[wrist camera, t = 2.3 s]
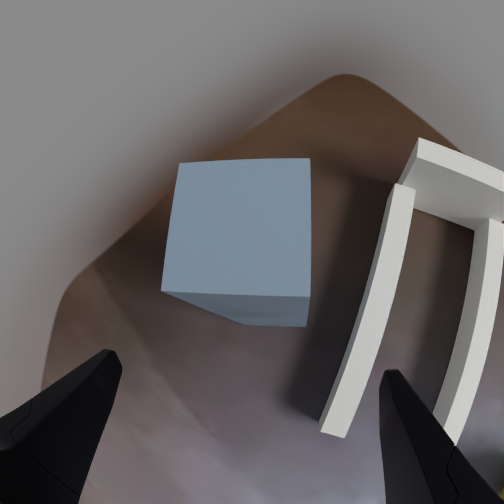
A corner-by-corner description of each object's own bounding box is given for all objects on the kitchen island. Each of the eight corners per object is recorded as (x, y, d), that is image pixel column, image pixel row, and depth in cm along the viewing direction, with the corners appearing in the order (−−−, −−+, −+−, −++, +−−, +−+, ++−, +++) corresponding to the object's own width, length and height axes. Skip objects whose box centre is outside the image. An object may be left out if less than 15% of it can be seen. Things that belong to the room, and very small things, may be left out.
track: (436, 449, 16) (474, 475, 11) (318, 421, 18) (323, 449, 13) (490, 219, 20) (529, 185, 14) (390, 182, 22) (411, 134, 16)
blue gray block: (305, 326, 20) (310, 296, 8) (244, 324, 21) (161, 291, 9) (307, 266, 21) (310, 158, 9) (248, 265, 22) (179, 163, 10)
